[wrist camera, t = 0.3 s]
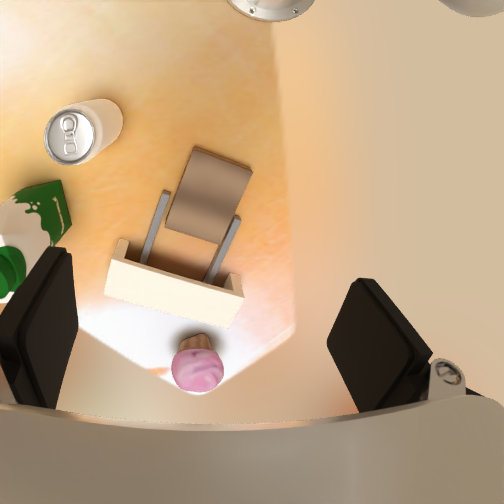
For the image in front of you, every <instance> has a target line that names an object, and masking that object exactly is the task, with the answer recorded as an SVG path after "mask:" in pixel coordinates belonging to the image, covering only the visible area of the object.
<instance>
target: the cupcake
mask: <svg viewBox="0 0 504 504" xmlns="http://www.w3.org/2000/svg"><path fill="white" fill-rule="evenodd" d="M171 370H172V375H173V378H174V380H175V382H176V384H177V385H178V386H179V387H180V388H181V389H183V390H186V391H194V392H206V391H210V390H212V389H213V388H215V387H216V386H217V385H218V384H219V383H220V381H221V380H222V378H223V376H224V367H223V363H222V361H221V359H220V358H219V356H218V354H217V353H216V352H214V351H213V350H212V348H211V345H210V342H209V339H208V337H207V336H206V335H204V334H198V335H196V336H193V337H191V338H187V339H185V340H184V341H183V342H181V344H180V346H179V349H178V353H177V354H176V355H175V356H174V358H173V361H172V366H171Z"/></svg>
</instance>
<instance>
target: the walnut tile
mask: <svg viewBox="0 0 504 504" xmlns="http://www.w3.org/2000/svg"><path fill="white" fill-rule="evenodd" d="M252 174H253V172H252V170H251V169H250V168H249V167H247V166H244V165H242V164H239V163H237V162H234V161H231V160H229V159H226V158H224V157H221V156H218V155H216V154H213V153H210V152H208V151H205V150H202V149H199V148H197V147H194V148H193V150H192V153H191V155H190V158H189V160H188V163H187V165H186V168H185V170H184V173H183V175H182V178H181V180H180V183H179V186H178V188H177V191H176V193H175V196H174V199H173V201H172V204H171V207H170V210H169V212H168V215H167V218H166V222H165V228H168V229H171V230H174V231H177V232H181V233H184V234H187V235H190V236H193V237H196V238H199V239H202V240H206V241H209V242H212V243H215V244H218V245H220V244H221V242H222V239H223V237H224V235H225V233H226V231H227V228H228V226H229V224H230V222H231V219H232V217H233V215H234V213H235V211H236V208H237V206H238V204H239V202H240V200H241V197H242V195H243V193H244V191H245V189H246V187H247V184H248V182H249V180H250V178H251V176H252Z"/></svg>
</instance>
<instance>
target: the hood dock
mask: <svg viewBox="0 0 504 504" xmlns="http://www.w3.org/2000/svg"><path fill="white" fill-rule="evenodd" d="M169 197H170V192H168V191H165V190H163V193H162V195H161V198H160V201H159V204H158V207H157V209H156V212H155V215H154V218H153V221H152V224H151V227H150V230H149V233H148V236H147V239H146V242H145V245H144V248H143V251H142V254H141V257H140V261H139V263H137V262H133V261H130V260H127V259H124V258H125V255H126V251H127V248H128V244H129V241H127V240H124V239H121V238H120V239H119V242H118V244H117V247H116V249H115V252H114V254H113V257H112V260H111V264H110V268H109V272H108V276H107V281H106V285H105V289H104V295H107V296H110V297H114V298H117V299H120V300H123V301H127V302H130V303H134V304H137V305H140V306H144V307H147V308H151V309H155V310H158V311H162V312H165V313H169V314H173V315H177V316H180V317H184V318H188V319H192V320H196V321H200V322H204V323H208V324H212V325H216V326H220V327H224V328H229V326H230V324H231V322H232V321H233V319H234V317H235V315H236V313H237V311H238V309H239V308H240V306H241V304H242V302H243V300H244V294H243V290H242V286H241V282H240V279H239V275H237V274H233V273H229V275H228V277H227V279H226V281H225V283H224V285H223V287H222V288H220V287H217V286H213V285H212V283H213V281H214V278H215V276H216V274H217V272H218V270H219V268H220V266H221V263H222V261H223V259H224V257H225V255H226V253H227V251H228V249H229V246H230V244H231V242H232V240H233V238H234V236H235V234H236V232H237V229H238V227H239V225H240V223H241V218H240V217H239V216H236V215H233V217H232V219H231V222H230V224H229V226H228V228H227V231H226V233H225V235H224V237H223V239H222V242H221V244H220V245H219V247H218V249H217V252H216V254H215V256H214V258H213V261H212V263H211V265H210V267H209V269H208V272H207V274H206V276H205V278H204V281H203V282H199V281H196V280H193V279H189V278H186V277H182V276H179V275H176V274H172V273H169V272H166V271H162V270H159V269H156V268H153V267H149V266H146V262H147V259H148V256H149V253H150V250H151V247H152V244H153V241H154V238H155V235H156V232H157V230H158V227H159V224H160V221H161V218H162V216H163V213H164V210H165V207H166V205H167V202H168V199H169Z"/></svg>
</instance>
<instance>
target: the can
mask: <svg viewBox="0 0 504 504" xmlns="http://www.w3.org/2000/svg"><path fill="white" fill-rule="evenodd" d="M122 127H123V116H122V112H121V110H120V109H119V107H118V106H117V105H116V104H115V103H114V102H112V101H110V100H107V99H95V100H89V101H83V102H78V103H74V104H70V105H67V106H65V107H63V108H61V109H60V110H59V111H57V112H56V113H55V115H54V116H53V117H52V118H51V119H50V121H49V122H48V124H47V126H46V129H45V133H44V144H45V148H46V150H47V152H48V154H49V156H50V157H51V158H52V159H53V160H54V161H56V162H57V163H60V164H62V165H80V164H83V163H85V162H87V161H89V160H90V159H92V158H93V157H94V156H96V155H97V154H98V153H100V152H101V151H102V150H103V149H105V148H106V147H107V146H109V145H110V144H111V143H112V142H114V141H115V140H116V139H117V137H118V136H119V134H120V133H121V130H122Z"/></svg>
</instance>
